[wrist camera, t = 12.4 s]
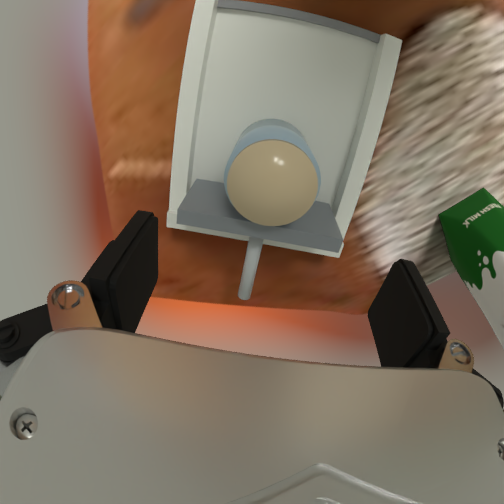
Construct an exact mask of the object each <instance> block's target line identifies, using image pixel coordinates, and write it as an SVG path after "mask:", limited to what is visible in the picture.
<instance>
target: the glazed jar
mask: <svg viewBox="0 0 504 504" xmlns="http://www.w3.org/2000/svg"><path fill="white" fill-rule="evenodd" d="M320 184H321V175H320V170H319V166H318V163H317V161H316V159H315V157H314V155H313V154H312V152H311V150H310V148H309V146H308V144H307V142H306V140H305V139H304V137H303V135H302V134H301V132H300V131H299V130H298V129H297V128H296V127H294V126H293V125H292V124H290V123H288V122H286V121H283V120H279V119H263V120H259V121H257V122H255V123H253V124H251V125H250V126H248V127H247V128H246V129H245V130H244V131H243V132H242V133H241V135H240V137H239V138H238V140H237V143H236V145H235V147H234V149H233V151H232V153H231V155H230V158H229V160H228V162H227V165H226V168H225V172H224V186H225V191H226V194H227V196H228V198H229V200H230V202H231V204H232V205H233V206H234V207H235V209H236V210H237V211H238V212H239V213H240V214H241V215H242V216H243V217H245V218H246V219H248V220H250V221H252V222H254V223H257V224H260V225H264V226H281V225H286V224H289V223H291V222H293V221H296V220H297V219H299V218H300V217H302V216H303V215H304V214H305V213H306V212H307V211H308V210H309V209H310V207H311V206H312V205H313V203H314V202H315V200H316V198H317V196H318V193H319V190H320Z"/></svg>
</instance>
